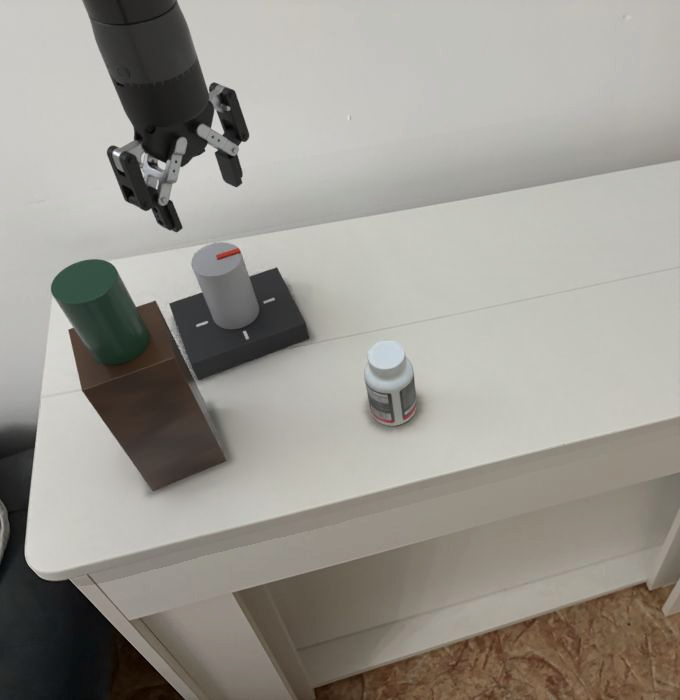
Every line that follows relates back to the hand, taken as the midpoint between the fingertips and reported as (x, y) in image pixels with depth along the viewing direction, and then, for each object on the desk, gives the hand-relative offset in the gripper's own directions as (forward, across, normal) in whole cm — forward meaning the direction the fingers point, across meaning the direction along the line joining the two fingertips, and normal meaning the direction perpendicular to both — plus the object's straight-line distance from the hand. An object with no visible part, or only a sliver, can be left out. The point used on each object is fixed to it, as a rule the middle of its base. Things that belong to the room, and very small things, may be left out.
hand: (204, 205), depth 74 cm
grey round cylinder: (+17, 0, -1) cm, 17 cm away
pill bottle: (+20, 0, +22) cm, 30 cm away
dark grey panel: (+20, 0, -1) cm, 20 cm away
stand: (+20, +17, +6) cm, 27 cm away
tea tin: (+2, +17, +6) cm, 18 cm away
